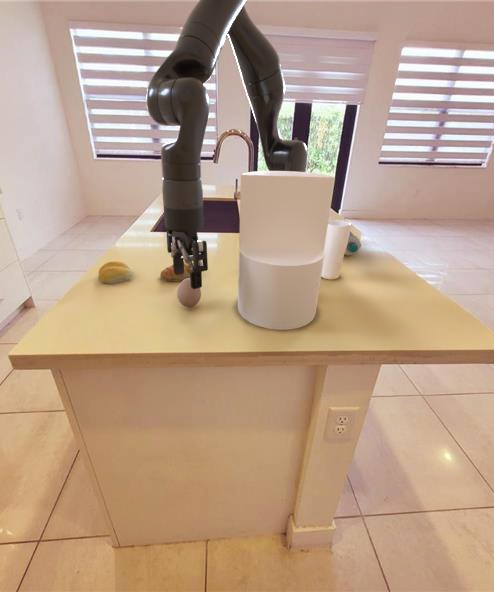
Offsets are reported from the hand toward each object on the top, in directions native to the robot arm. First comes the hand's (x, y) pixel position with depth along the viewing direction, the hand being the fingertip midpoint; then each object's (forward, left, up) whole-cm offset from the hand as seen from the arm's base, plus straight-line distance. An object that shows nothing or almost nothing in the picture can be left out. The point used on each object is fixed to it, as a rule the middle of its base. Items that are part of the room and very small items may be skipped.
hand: (187, 280), depth 67 cm
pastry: (-5, -16, -7) cm, 18 cm away
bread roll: (+10, -24, -7) cm, 27 cm away
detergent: (-63, -10, -7) cm, 64 cm away
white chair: (-16, +11, -7) cm, 21 cm away
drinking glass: (-40, +5, -7) cm, 41 cm away
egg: (0, 0, -7) cm, 7 cm away
